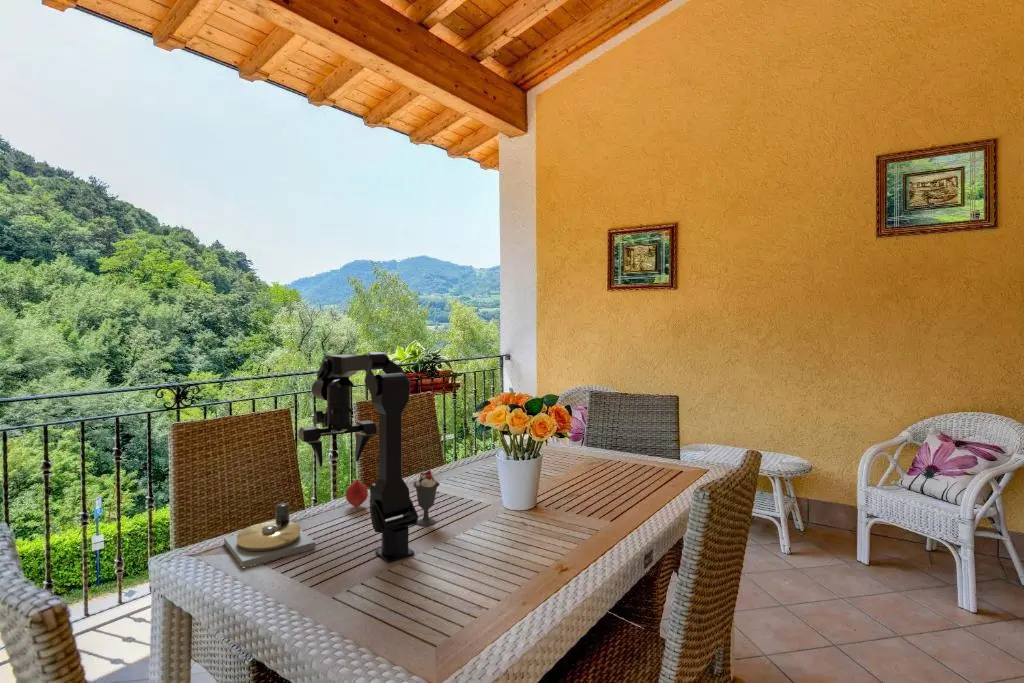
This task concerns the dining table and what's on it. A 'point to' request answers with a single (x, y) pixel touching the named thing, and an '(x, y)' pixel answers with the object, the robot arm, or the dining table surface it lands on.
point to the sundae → (426, 496)
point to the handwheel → (270, 532)
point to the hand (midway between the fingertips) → (339, 463)
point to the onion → (356, 493)
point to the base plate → (257, 557)
